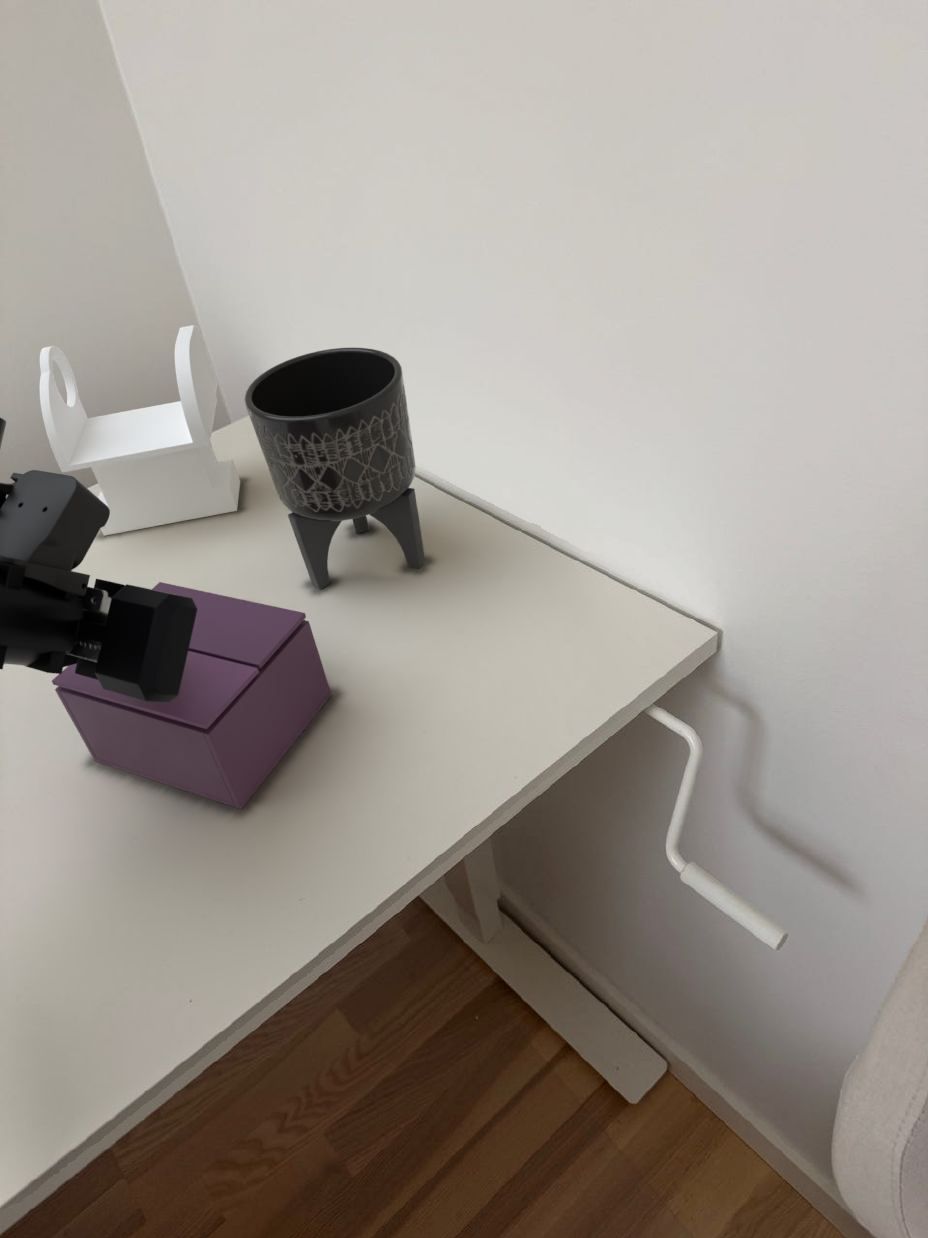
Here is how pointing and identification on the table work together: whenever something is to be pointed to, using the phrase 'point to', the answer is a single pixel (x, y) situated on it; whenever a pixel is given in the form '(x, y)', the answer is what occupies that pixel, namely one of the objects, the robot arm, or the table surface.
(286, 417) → the planter
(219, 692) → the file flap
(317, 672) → the box
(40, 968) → the table surface
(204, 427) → the tape dispenser
